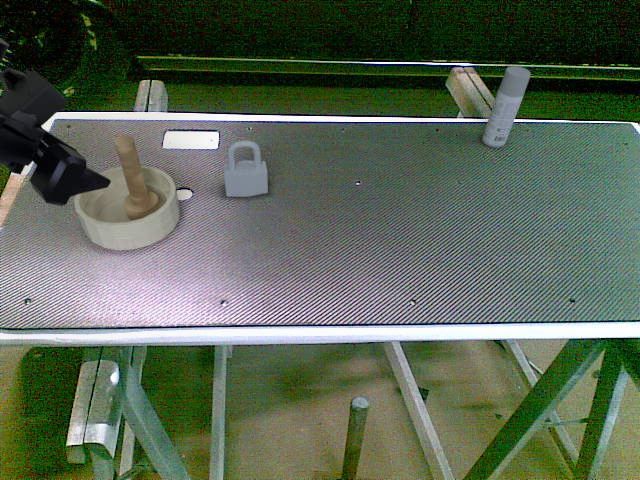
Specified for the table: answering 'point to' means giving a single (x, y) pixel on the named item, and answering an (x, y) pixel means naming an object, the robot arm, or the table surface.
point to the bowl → (110, 216)
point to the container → (506, 106)
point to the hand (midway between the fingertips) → (91, 168)
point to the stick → (135, 181)
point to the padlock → (245, 172)
